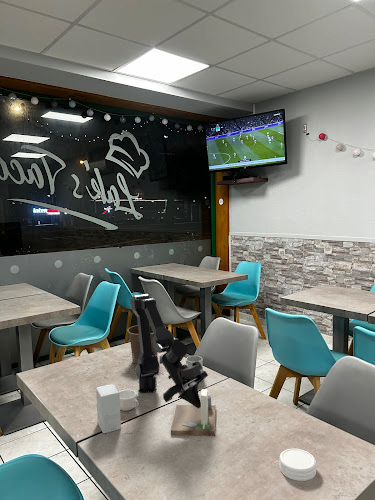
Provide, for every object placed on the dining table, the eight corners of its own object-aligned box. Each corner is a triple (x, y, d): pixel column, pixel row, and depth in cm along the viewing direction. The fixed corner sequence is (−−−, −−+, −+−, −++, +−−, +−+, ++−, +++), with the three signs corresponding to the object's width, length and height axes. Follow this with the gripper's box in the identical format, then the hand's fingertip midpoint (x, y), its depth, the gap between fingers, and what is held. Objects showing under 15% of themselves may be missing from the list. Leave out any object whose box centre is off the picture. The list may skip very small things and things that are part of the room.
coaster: (309, 458, 115) (309, 446, 114) (321, 481, 105) (321, 469, 105) (275, 459, 115) (275, 448, 114) (284, 483, 105) (284, 470, 104)
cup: (206, 378, 171) (205, 358, 170) (190, 385, 164) (189, 365, 163) (194, 373, 176) (194, 354, 175) (178, 380, 169) (177, 360, 169)
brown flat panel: (170, 434, 128) (170, 429, 128) (176, 408, 145) (176, 404, 145) (214, 435, 127) (214, 430, 127) (215, 409, 144) (215, 404, 144)
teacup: (112, 409, 146) (111, 395, 146) (126, 401, 152) (126, 387, 152) (131, 417, 140) (130, 402, 140) (145, 408, 147) (145, 394, 146)
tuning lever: (201, 404, 144) (201, 378, 143) (211, 405, 144) (211, 378, 143) (198, 429, 128) (197, 400, 127) (209, 429, 128) (208, 400, 127)
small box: (121, 429, 133) (119, 392, 131) (103, 434, 130) (101, 396, 129) (115, 418, 140) (113, 383, 139) (97, 422, 137) (95, 387, 136)
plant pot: (168, 359, 194) (167, 328, 192) (143, 370, 182) (142, 336, 180) (147, 352, 205) (145, 322, 203) (122, 361, 193) (120, 329, 192)
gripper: (168, 365, 127) (195, 407, 121) (203, 348, 141) (229, 385, 135) (152, 381, 133) (177, 423, 127) (187, 364, 147) (211, 400, 141)
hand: (200, 407), depth 132 cm, fingers closed
